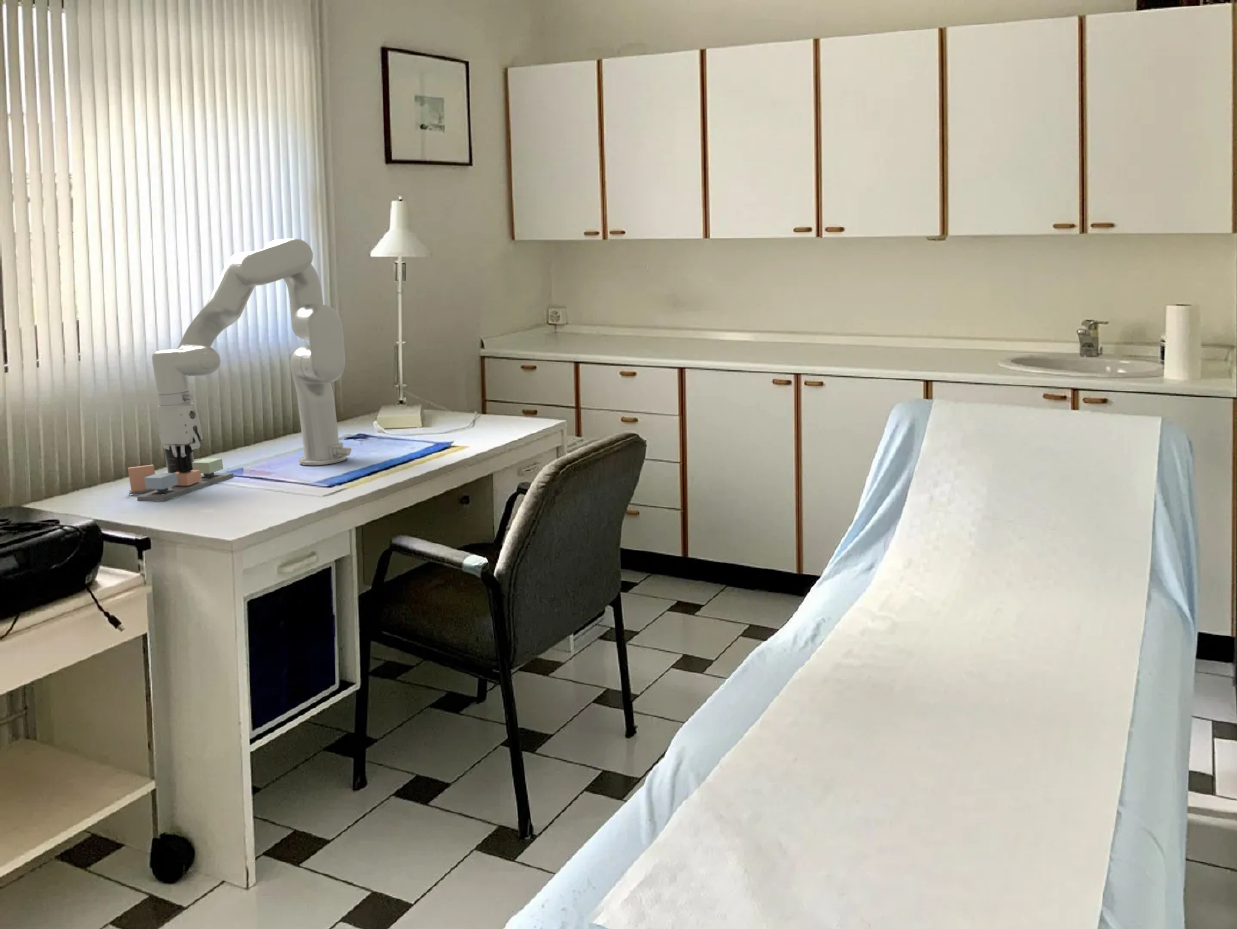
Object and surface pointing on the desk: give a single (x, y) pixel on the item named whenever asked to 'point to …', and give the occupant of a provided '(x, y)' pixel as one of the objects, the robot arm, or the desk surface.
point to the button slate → (161, 481)
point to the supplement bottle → (173, 461)
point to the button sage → (208, 466)
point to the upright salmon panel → (140, 478)
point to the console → (184, 488)
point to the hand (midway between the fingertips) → (185, 471)
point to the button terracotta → (188, 477)
